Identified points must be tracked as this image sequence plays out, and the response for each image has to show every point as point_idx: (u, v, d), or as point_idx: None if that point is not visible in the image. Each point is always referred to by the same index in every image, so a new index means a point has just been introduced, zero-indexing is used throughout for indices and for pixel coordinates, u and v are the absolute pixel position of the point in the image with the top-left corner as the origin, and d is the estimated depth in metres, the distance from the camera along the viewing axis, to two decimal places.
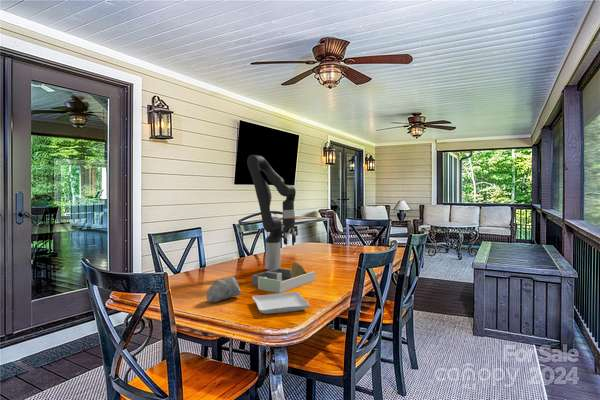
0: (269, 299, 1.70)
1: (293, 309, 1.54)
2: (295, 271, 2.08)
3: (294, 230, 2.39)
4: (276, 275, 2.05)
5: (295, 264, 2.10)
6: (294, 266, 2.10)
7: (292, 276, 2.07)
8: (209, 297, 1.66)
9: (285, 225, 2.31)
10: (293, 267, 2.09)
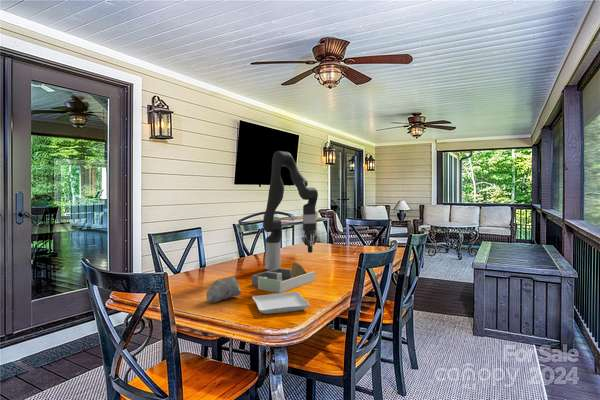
0: (269, 299, 1.70)
1: (293, 309, 1.54)
2: (295, 271, 2.08)
3: None
4: (276, 275, 2.05)
5: (295, 264, 2.10)
6: (294, 266, 2.10)
7: (292, 276, 2.07)
8: (209, 297, 1.66)
9: (306, 231, 2.14)
10: (293, 267, 2.09)
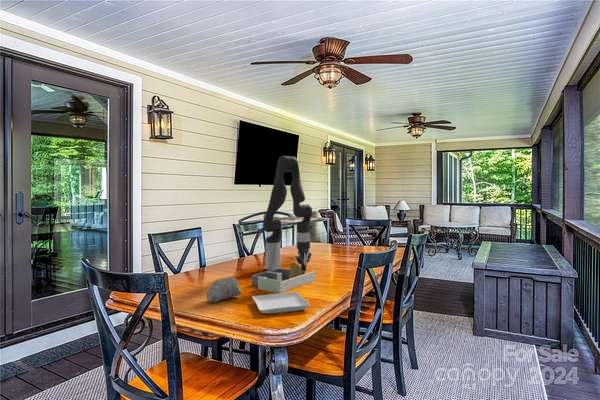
0: (269, 299, 1.70)
1: (293, 309, 1.54)
2: (293, 271, 2.07)
3: None
4: (276, 275, 2.05)
5: (293, 264, 2.09)
6: (293, 266, 2.09)
7: (290, 276, 2.06)
8: (209, 297, 1.66)
9: (299, 249, 2.09)
10: (291, 267, 2.08)
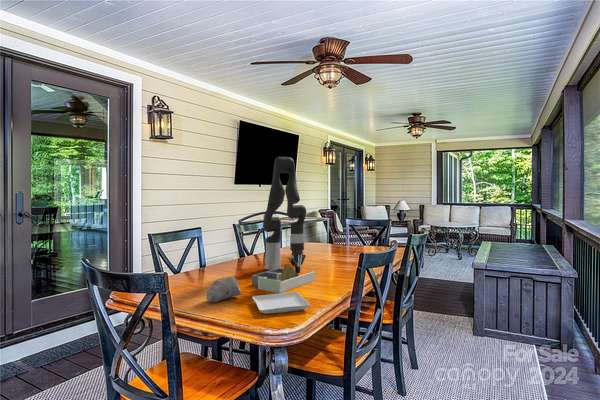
0: (269, 299, 1.70)
1: (293, 309, 1.54)
2: (286, 273, 2.03)
3: None
4: (276, 275, 2.05)
5: (286, 266, 2.05)
6: (286, 268, 2.04)
7: (283, 278, 2.02)
8: (209, 297, 1.66)
9: (293, 251, 2.04)
10: (284, 269, 2.04)
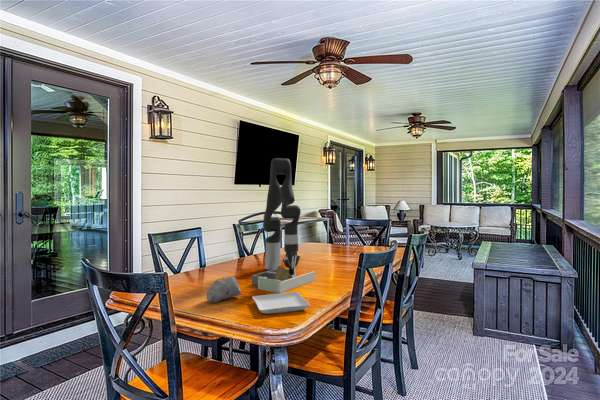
0: (269, 299, 1.70)
1: (293, 309, 1.54)
2: (279, 275, 1.99)
3: None
4: None
5: (280, 267, 2.01)
6: (279, 269, 2.00)
7: None
8: (209, 297, 1.66)
9: (287, 252, 2.00)
10: (278, 270, 2.00)
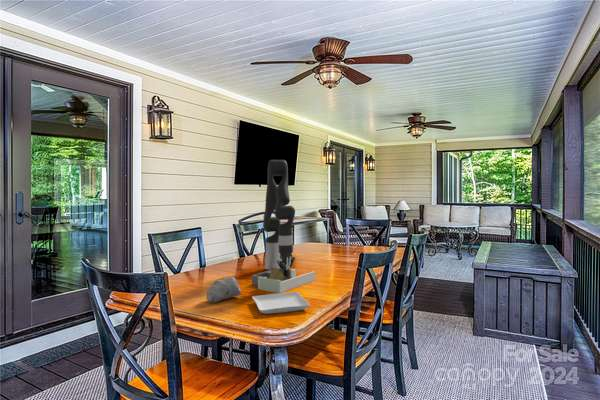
0: (269, 299, 1.70)
1: (293, 309, 1.54)
2: (273, 276, 1.95)
3: None
4: None
5: (274, 269, 1.97)
6: (273, 271, 1.97)
7: None
8: (209, 297, 1.66)
9: (281, 253, 1.96)
10: (272, 272, 1.97)
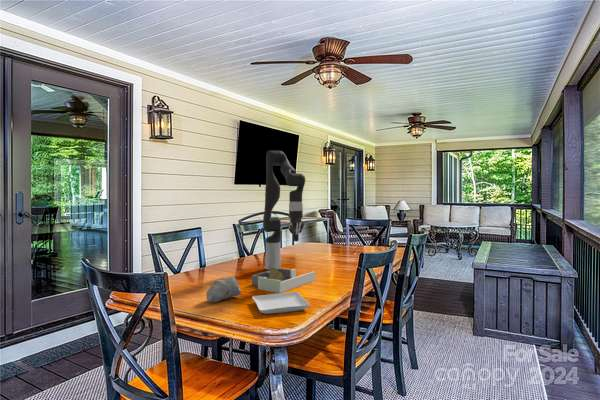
0: (268, 299, 1.70)
1: (293, 309, 1.54)
2: (272, 277, 1.95)
3: (299, 227, 2.13)
4: None
5: (273, 269, 1.97)
6: (273, 271, 1.97)
7: None
8: (209, 297, 1.66)
9: (291, 218, 2.06)
10: (271, 272, 1.97)
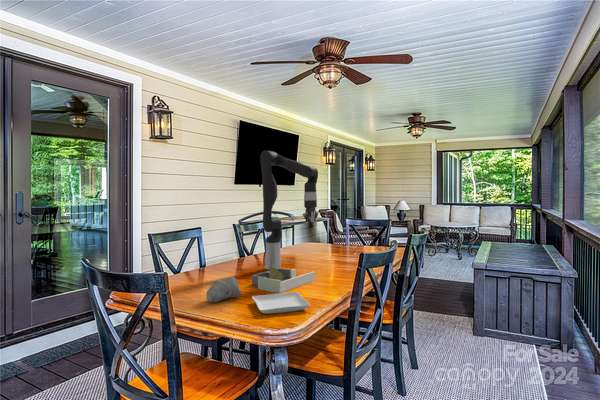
0: (268, 299, 1.70)
1: (293, 309, 1.54)
2: (272, 277, 1.95)
3: None
4: None
5: (273, 269, 1.97)
6: (273, 271, 1.97)
7: None
8: (209, 297, 1.66)
9: (307, 207, 2.24)
10: (271, 272, 1.97)
